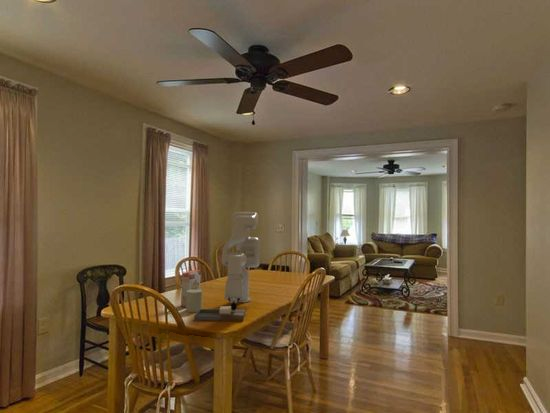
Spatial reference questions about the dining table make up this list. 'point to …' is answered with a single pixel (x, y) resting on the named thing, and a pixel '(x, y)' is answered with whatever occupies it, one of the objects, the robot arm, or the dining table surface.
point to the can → (194, 300)
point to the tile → (225, 309)
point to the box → (208, 315)
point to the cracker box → (189, 284)
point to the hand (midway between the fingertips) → (233, 309)
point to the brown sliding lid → (233, 315)
